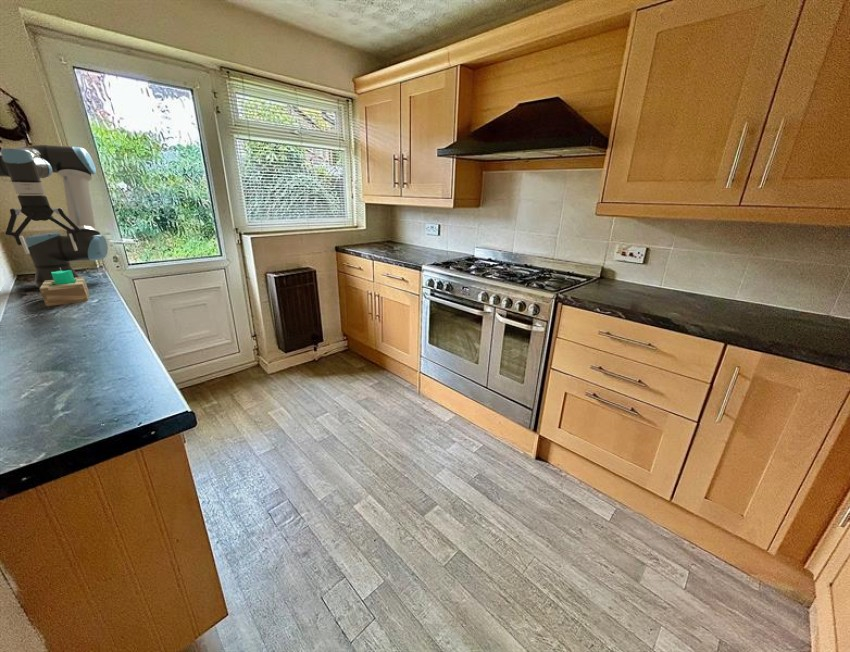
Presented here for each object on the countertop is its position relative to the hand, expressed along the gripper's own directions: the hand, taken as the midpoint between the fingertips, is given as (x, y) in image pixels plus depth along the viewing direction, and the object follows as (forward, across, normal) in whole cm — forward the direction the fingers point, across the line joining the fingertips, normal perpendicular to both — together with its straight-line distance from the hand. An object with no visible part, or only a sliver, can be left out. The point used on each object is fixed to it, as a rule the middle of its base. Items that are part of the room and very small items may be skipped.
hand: (52, 251), depth 138 cm
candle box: (+19, 0, -1) cm, 19 cm away
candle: (+18, 0, -1) cm, 19 cm away
